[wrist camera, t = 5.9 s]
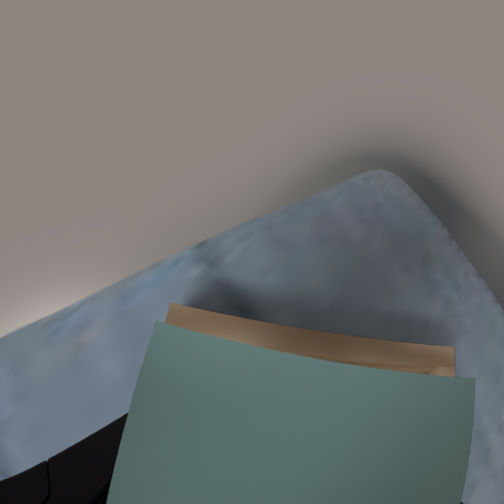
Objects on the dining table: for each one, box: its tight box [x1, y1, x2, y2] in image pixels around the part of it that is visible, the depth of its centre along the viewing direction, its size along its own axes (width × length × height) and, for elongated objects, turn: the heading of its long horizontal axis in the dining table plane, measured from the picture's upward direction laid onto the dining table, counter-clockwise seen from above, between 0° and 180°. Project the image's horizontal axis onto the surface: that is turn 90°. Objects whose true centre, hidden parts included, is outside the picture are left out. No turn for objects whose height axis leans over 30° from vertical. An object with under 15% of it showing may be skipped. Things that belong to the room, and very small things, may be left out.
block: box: [106, 320, 475, 504], centre depth 7 cm, size 5×5×10 cm
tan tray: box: [165, 303, 455, 377], centre depth 16 cm, size 15×20×2 cm
